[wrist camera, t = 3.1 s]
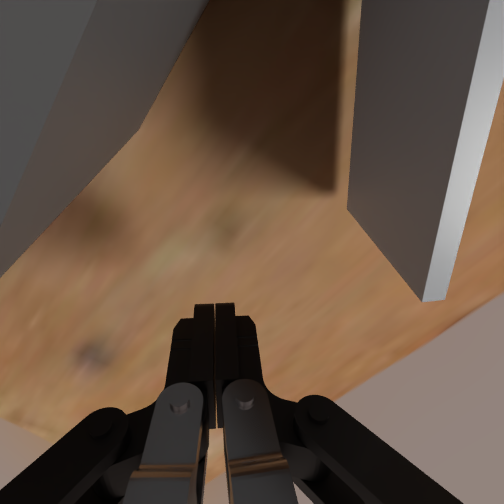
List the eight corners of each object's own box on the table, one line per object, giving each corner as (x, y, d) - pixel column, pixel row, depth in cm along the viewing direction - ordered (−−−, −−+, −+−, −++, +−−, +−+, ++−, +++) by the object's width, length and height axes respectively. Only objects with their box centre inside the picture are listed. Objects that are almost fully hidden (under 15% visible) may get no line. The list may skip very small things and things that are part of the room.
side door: (345, 208, 16) (420, 302, 10) (381, -301, 9) (704, -977, 3) (373, 205, 16) (464, 297, 10) (432, -303, 9) (845, -974, 3)
